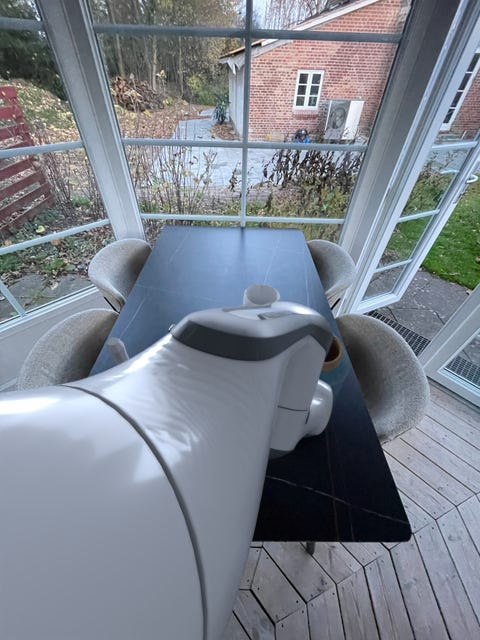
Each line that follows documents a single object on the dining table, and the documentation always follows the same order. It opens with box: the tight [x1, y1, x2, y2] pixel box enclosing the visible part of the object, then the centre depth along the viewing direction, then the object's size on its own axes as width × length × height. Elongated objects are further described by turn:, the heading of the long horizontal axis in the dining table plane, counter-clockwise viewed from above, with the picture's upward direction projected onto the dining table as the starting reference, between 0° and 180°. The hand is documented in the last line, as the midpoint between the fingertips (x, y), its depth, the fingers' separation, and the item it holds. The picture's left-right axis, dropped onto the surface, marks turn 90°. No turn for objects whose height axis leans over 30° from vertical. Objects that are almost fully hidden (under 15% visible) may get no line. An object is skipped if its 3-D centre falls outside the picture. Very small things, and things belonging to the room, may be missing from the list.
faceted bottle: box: [106, 336, 130, 366], centre depth 64 cm, size 6×6×22 cm
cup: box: [242, 283, 281, 306], centre depth 78 cm, size 10×10×22 cm
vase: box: [301, 333, 351, 439], centre depth 61 cm, size 16×16×27 cm
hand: (155, 347), depth 46 cm, fingers open, 8 cm apart
